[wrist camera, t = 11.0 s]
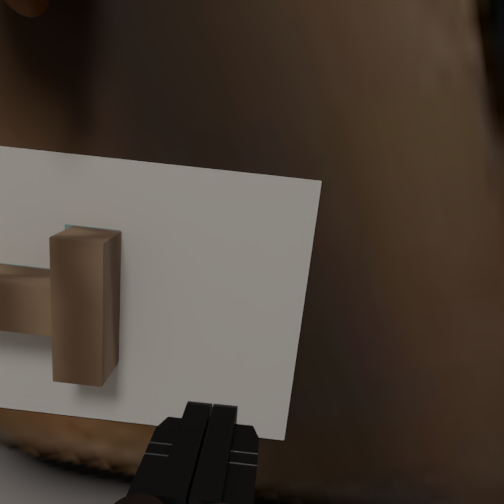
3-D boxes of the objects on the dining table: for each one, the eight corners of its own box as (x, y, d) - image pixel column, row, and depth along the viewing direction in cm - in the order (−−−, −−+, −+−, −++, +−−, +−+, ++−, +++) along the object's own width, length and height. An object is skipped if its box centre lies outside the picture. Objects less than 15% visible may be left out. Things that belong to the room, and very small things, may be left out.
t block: (121, 231, 36) (103, 243, 32) (118, 361, 39) (101, 387, 35) (-24, 215, 36) (-59, 225, 32) (-15, 346, 39) (-46, 370, 35)
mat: (321, 180, 34) (321, 181, 34) (284, 438, 41) (284, 440, 40) (-82, 137, 35) (-84, 137, 34) (-55, 399, 41) (-57, 401, 41)
